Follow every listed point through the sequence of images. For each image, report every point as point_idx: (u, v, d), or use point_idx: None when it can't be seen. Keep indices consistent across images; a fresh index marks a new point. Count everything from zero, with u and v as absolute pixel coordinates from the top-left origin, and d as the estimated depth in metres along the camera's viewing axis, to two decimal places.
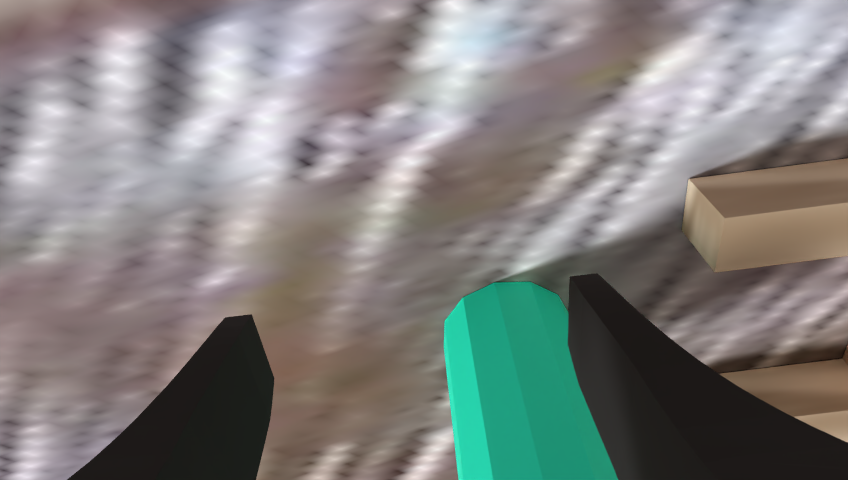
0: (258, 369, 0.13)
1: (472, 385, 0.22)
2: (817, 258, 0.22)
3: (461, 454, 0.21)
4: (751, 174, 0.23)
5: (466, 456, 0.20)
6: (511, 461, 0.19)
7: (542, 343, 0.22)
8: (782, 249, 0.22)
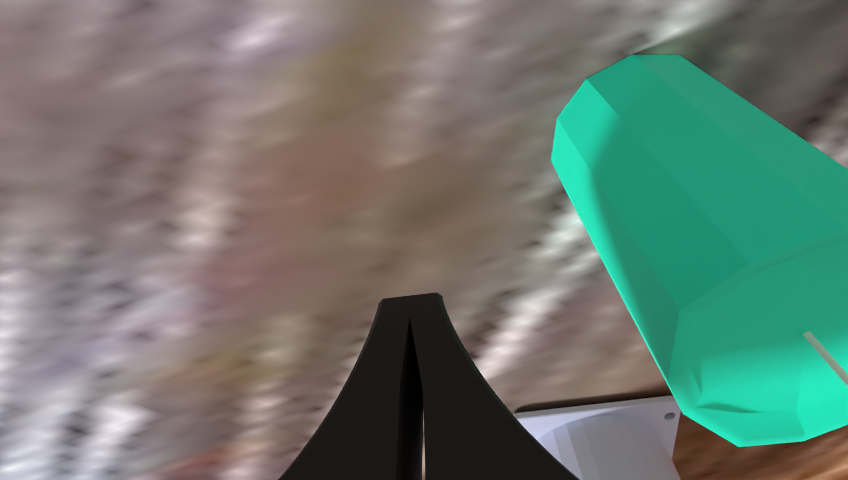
0: None
1: (632, 147, 0.15)
2: None
3: (630, 227, 0.14)
4: None
5: (641, 225, 0.14)
6: (739, 197, 0.12)
7: (727, 95, 0.16)
8: None
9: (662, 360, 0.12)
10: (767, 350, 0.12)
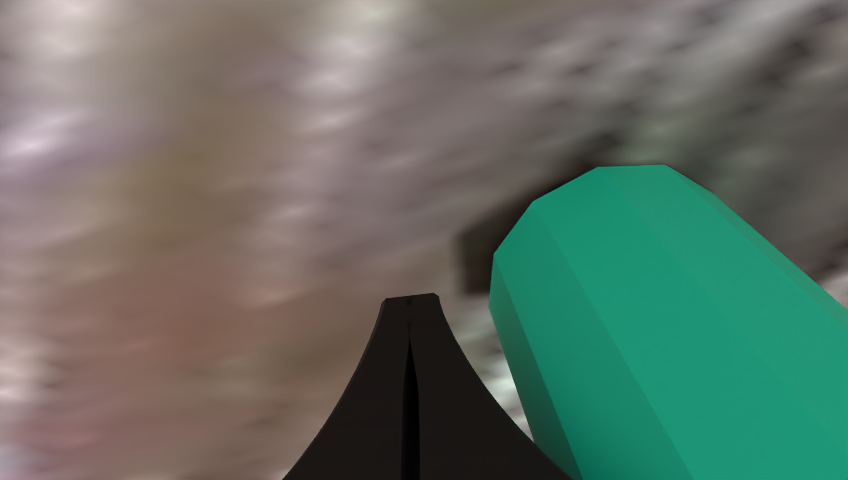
0: None
1: (610, 367, 0.09)
2: None
3: None
4: None
5: None
6: None
7: (755, 264, 0.10)
8: None
9: None
10: None
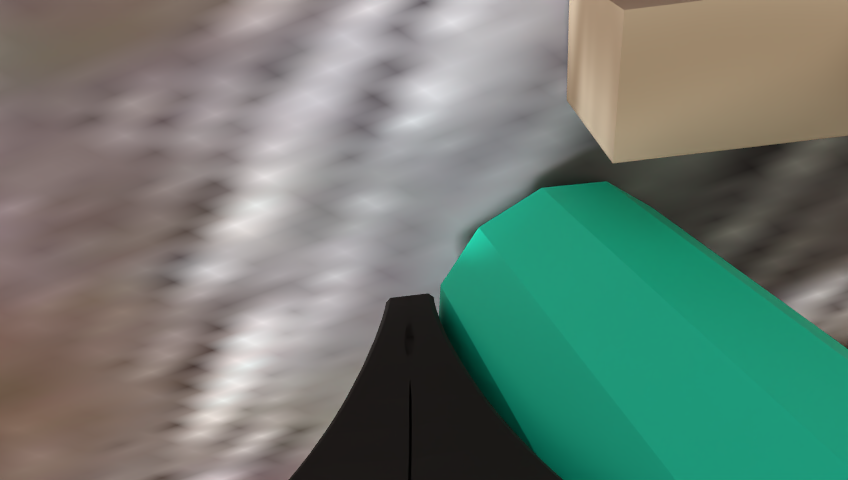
0: None
1: (593, 403, 0.08)
2: None
3: None
4: None
5: None
6: None
7: (719, 279, 0.10)
8: (767, 105, 0.09)
9: None
10: None
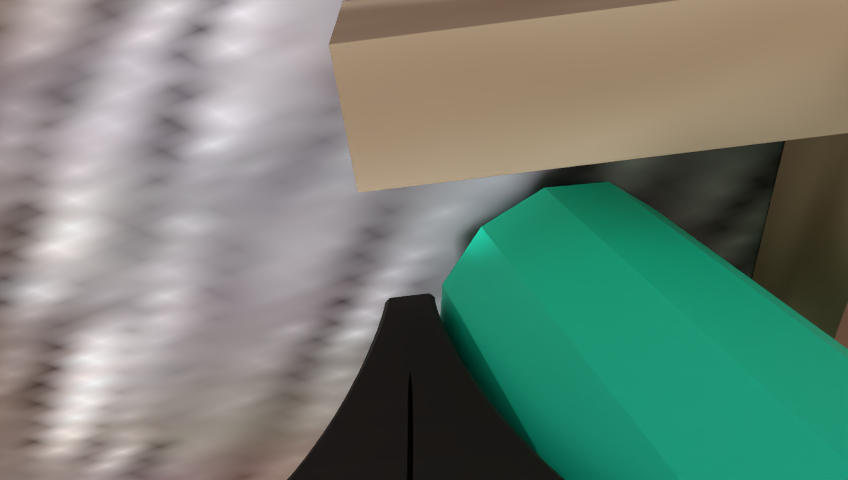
0: None
1: (596, 402, 0.08)
2: (590, 162, 0.10)
3: None
4: None
5: None
6: None
7: (721, 279, 0.10)
8: (500, 136, 0.09)
9: None
10: None
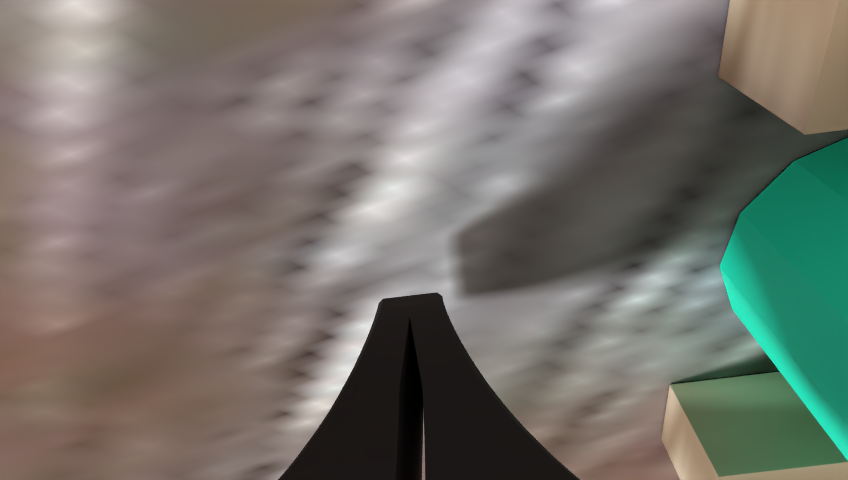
0: None
1: None
2: None
3: None
4: None
5: None
6: None
7: None
8: None
9: None
10: None
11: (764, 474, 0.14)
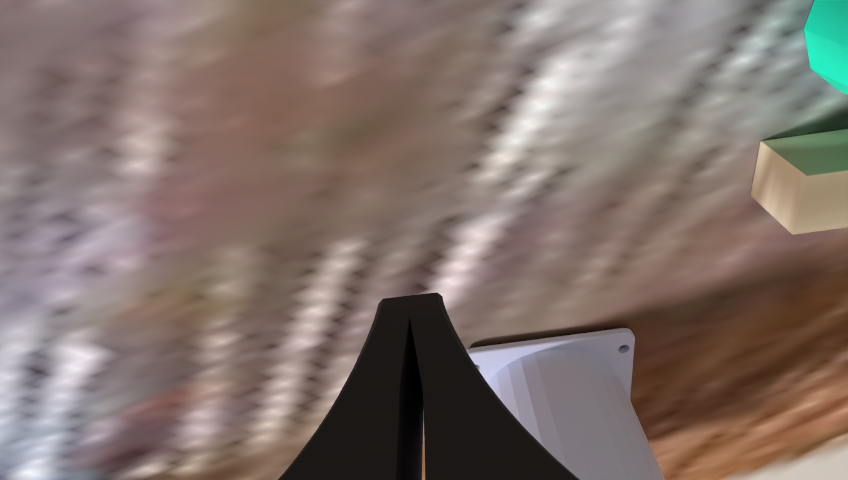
0: None
1: None
2: None
3: None
4: None
5: None
6: None
7: None
8: None
9: None
10: None
11: (839, 174, 0.20)
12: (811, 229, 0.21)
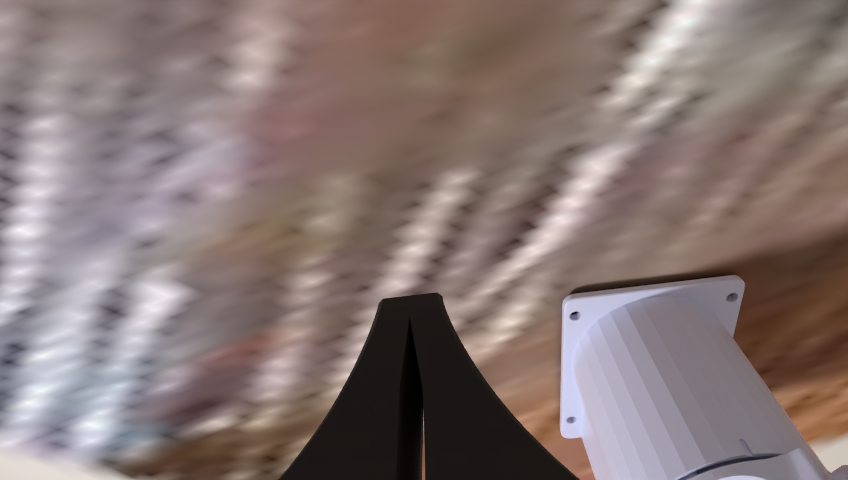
0: None
1: None
2: None
3: None
4: None
5: None
6: None
7: None
8: None
9: None
10: None
11: None
12: None
